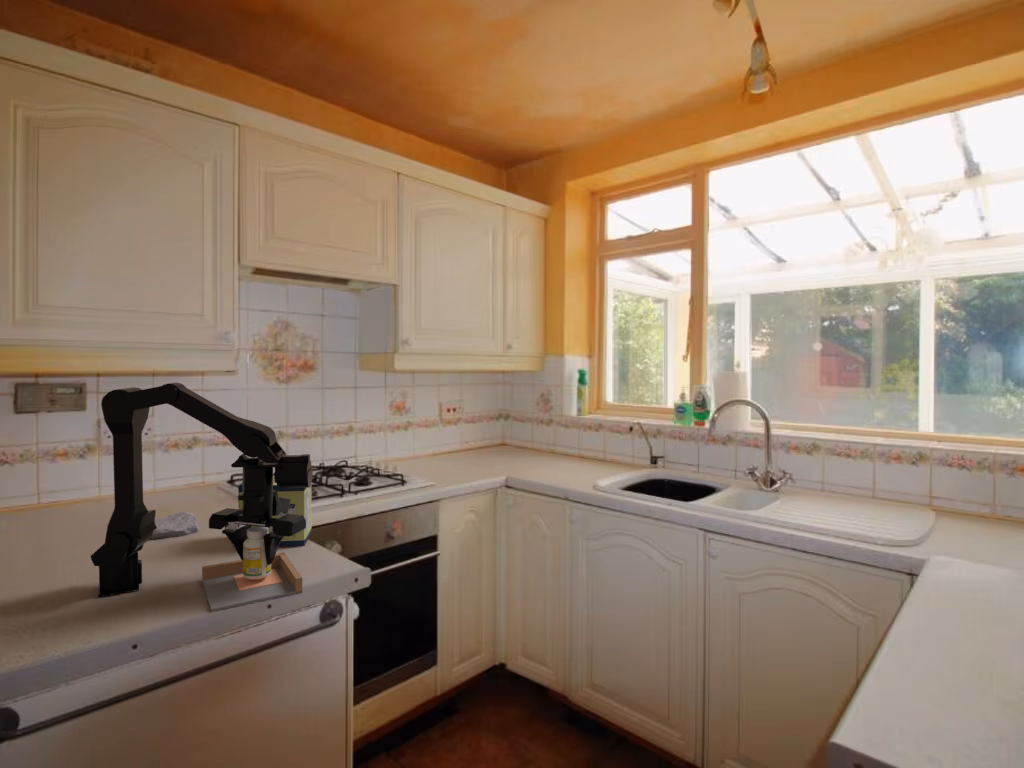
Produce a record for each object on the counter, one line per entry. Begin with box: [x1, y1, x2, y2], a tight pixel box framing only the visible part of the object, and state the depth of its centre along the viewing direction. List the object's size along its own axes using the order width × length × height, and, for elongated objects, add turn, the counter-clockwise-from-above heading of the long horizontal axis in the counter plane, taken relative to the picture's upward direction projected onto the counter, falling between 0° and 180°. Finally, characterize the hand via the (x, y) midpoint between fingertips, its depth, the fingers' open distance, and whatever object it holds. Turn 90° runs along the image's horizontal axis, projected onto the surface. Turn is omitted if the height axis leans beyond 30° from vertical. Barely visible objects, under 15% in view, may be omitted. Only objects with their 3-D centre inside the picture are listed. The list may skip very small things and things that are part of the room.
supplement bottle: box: [243, 526, 271, 579], centre depth 114 cm, size 5×5×10 cm
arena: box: [201, 552, 303, 613], centre depth 112 cm, size 16×16×3 cm
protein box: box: [237, 475, 313, 548], centre depth 138 cm, size 10×16×16 cm
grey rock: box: [149, 511, 199, 540], centre depth 143 cm, size 12×5×10 cm
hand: (257, 562), depth 114 cm, fingers closed on supplement bottle, 5 cm apart
